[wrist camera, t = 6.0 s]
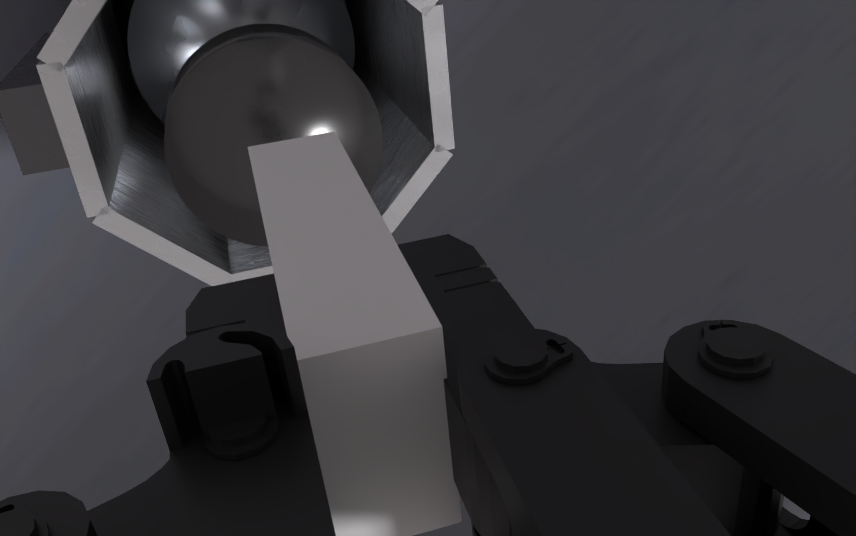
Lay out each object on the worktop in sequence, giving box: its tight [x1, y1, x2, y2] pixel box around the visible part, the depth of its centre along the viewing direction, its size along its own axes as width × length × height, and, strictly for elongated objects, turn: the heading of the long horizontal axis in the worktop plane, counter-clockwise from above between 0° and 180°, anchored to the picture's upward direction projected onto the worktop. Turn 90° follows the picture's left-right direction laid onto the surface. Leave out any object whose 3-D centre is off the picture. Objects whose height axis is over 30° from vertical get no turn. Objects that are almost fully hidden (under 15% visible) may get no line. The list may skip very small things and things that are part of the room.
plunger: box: [127, 0, 383, 247], centre depth 23 cm, size 8×8×12 cm
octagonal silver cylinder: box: [0, 0, 455, 286], centre depth 27 cm, size 11×12×14 cm
